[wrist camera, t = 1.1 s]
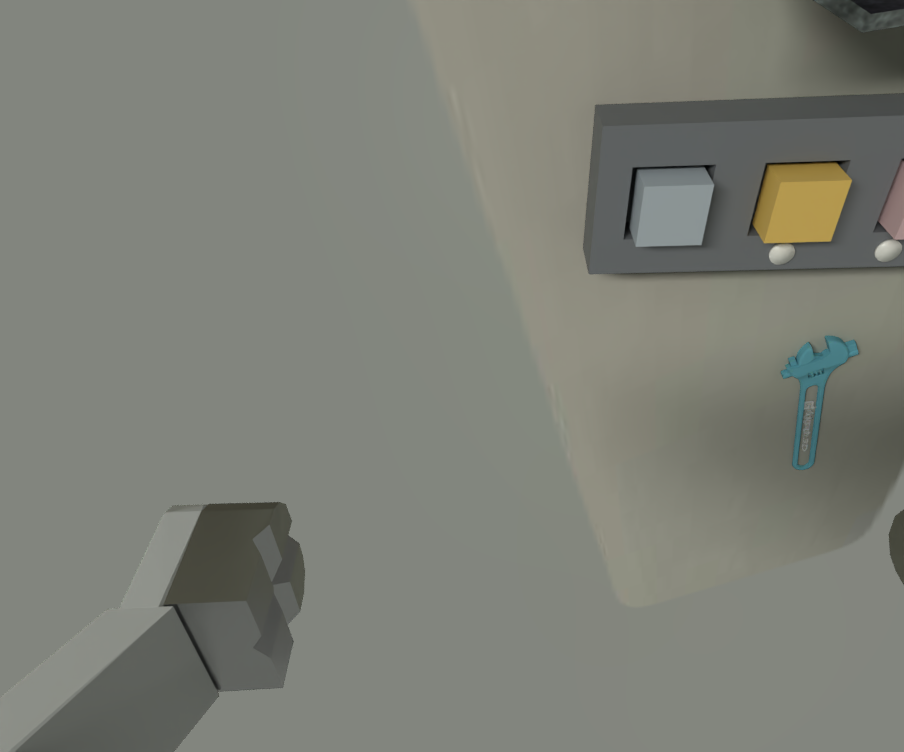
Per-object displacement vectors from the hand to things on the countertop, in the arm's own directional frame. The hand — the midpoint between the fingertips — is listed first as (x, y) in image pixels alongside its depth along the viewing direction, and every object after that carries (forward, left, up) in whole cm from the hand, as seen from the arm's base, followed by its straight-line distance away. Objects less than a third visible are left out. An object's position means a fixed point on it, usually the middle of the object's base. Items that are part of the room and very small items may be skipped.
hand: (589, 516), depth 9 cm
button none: (+5, +13, -31) cm, 34 cm away
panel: (+2, +19, -33) cm, 38 cm away
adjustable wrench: (+15, +35, -34) cm, 51 cm away
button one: (+2, +19, -31) cm, 36 cm away
